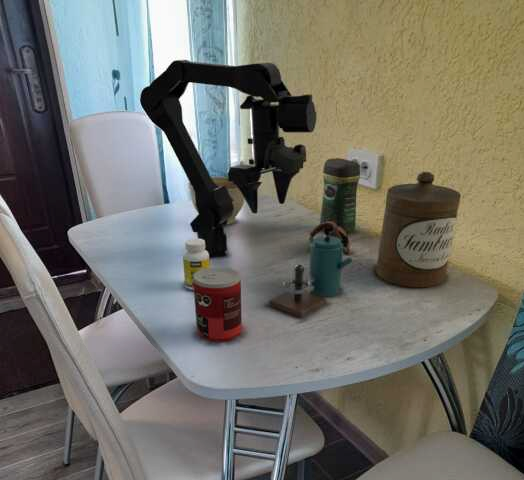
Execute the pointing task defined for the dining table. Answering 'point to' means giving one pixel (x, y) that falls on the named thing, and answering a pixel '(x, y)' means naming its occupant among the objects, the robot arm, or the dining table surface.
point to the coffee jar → (340, 193)
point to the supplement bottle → (194, 260)
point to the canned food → (218, 303)
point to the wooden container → (417, 233)
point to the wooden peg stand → (298, 298)
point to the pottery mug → (331, 233)
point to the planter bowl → (233, 193)
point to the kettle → (323, 268)
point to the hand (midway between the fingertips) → (268, 208)
